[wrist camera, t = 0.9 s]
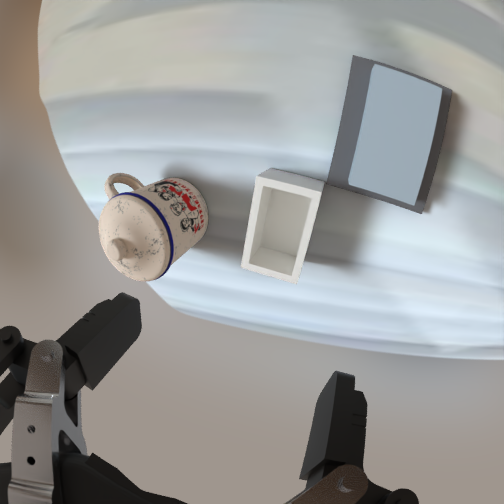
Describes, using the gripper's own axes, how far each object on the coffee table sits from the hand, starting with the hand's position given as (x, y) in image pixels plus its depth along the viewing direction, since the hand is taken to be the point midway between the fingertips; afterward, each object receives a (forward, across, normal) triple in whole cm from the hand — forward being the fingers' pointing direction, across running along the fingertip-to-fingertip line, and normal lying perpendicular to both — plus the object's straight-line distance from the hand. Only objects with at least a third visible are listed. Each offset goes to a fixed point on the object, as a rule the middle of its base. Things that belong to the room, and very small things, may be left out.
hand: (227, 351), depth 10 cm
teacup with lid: (+21, +15, +4) cm, 26 cm away
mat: (+21, -7, -9) cm, 24 cm away
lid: (+20, -7, -9) cm, 23 cm away
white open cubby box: (+21, +1, +2) cm, 21 cm away
